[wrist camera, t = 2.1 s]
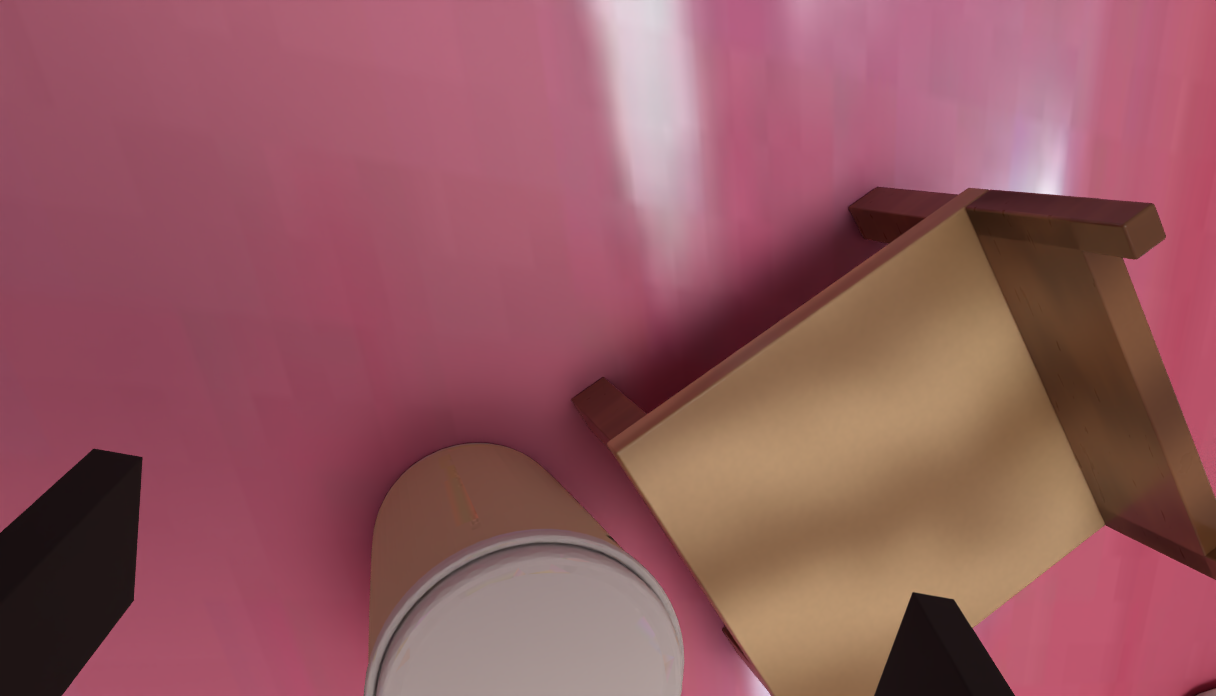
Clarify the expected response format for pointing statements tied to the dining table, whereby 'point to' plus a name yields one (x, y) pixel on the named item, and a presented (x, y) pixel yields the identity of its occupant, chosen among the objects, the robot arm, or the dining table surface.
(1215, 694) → the supplement can
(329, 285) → the dining table surface
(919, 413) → the wooden chair
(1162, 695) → the dining table surface
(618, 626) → the coffee cup
